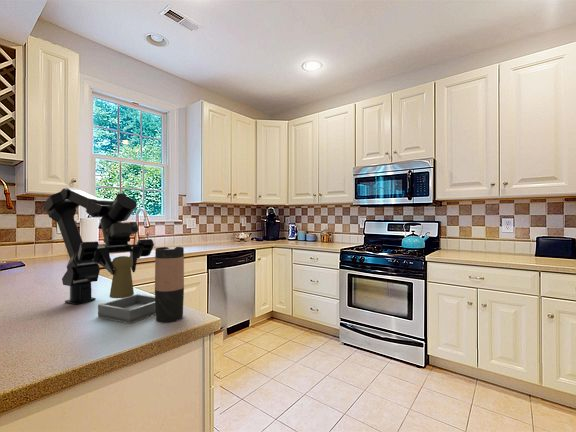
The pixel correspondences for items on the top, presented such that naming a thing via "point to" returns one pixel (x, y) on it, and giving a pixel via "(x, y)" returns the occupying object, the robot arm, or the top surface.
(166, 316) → the travel mug
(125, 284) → the cork
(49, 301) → the top surface
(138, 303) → the gray square tray
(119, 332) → the top surface
